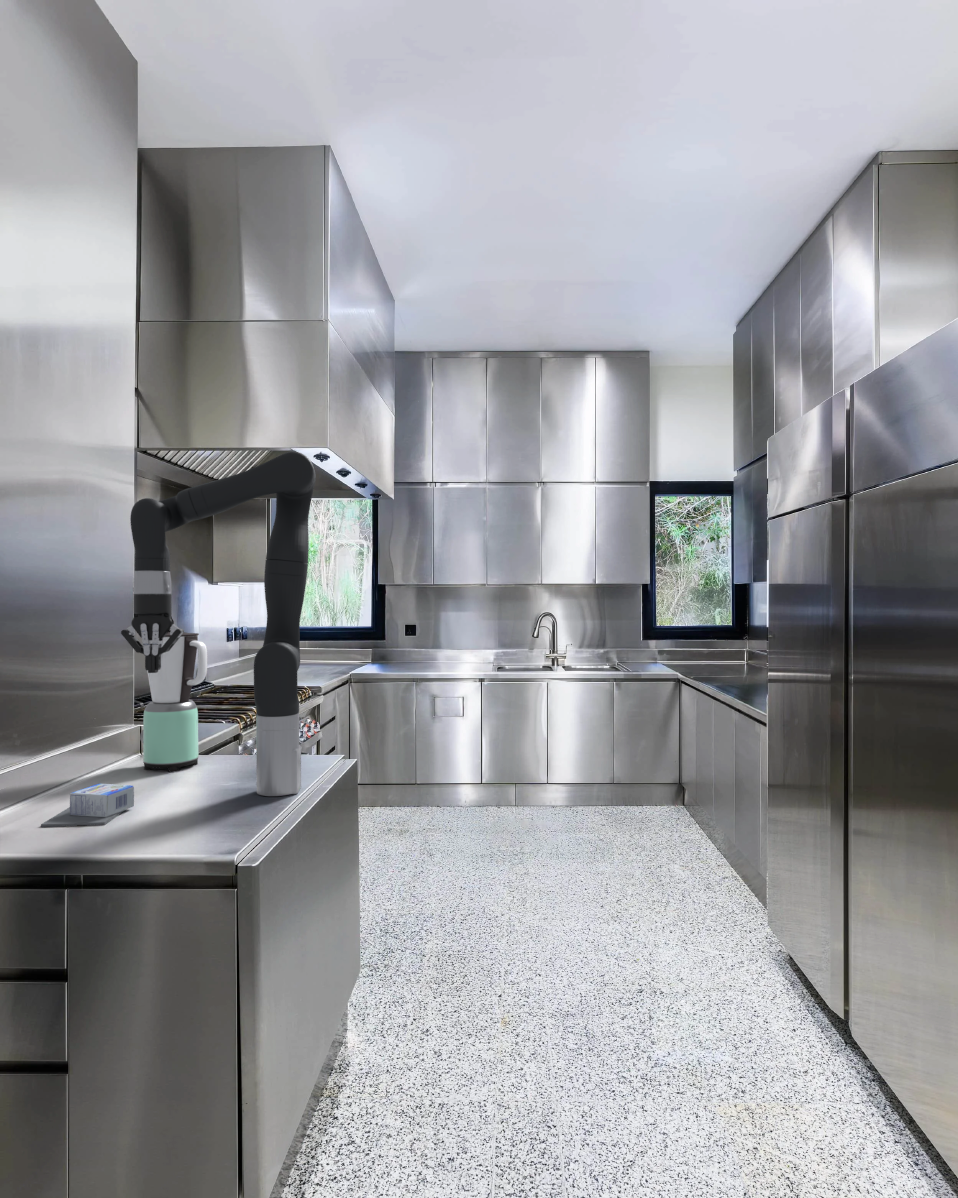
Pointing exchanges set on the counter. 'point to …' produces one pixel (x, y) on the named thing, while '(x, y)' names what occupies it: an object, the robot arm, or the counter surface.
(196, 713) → the blender
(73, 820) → the mat
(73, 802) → the medicine box
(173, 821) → the counter surface
